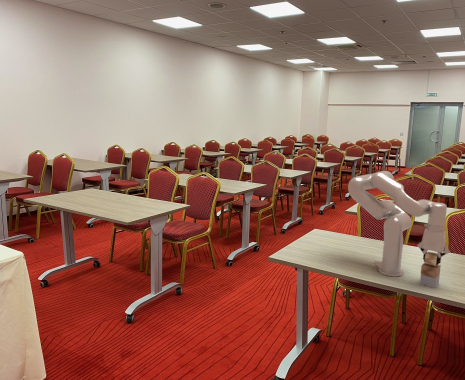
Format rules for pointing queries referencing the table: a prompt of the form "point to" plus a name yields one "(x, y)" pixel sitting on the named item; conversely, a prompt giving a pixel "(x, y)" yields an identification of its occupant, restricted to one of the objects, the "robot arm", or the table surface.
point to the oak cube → (431, 258)
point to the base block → (429, 281)
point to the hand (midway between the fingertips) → (431, 262)
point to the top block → (430, 270)
